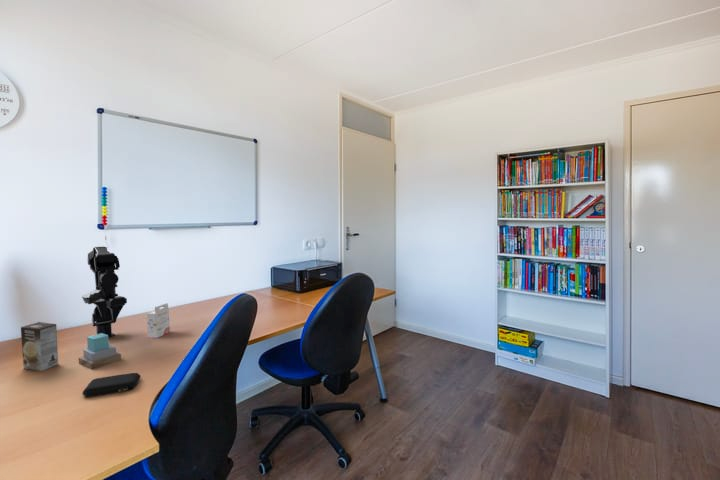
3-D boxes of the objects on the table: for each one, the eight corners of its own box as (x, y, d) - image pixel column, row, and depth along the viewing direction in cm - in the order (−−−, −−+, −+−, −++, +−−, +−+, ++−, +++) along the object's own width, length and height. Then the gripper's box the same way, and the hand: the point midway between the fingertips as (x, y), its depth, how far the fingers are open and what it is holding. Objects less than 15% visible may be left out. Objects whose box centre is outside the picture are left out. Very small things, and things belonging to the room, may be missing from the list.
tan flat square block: (79, 365, 132) (78, 357, 132) (107, 356, 141) (107, 349, 141) (92, 371, 127) (91, 363, 127) (121, 361, 136) (120, 353, 136)
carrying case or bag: (79, 402, 106) (135, 392, 111) (78, 392, 106) (134, 383, 111) (91, 386, 116) (141, 378, 121) (90, 377, 115) (141, 370, 121)
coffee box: (22, 368, 127) (19, 327, 126) (41, 361, 134) (38, 321, 132) (41, 371, 125) (38, 328, 124) (59, 363, 132) (57, 323, 131)
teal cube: (87, 349, 132) (87, 337, 132) (102, 345, 137) (101, 333, 136) (94, 352, 130) (93, 339, 130) (109, 347, 134) (108, 335, 134)
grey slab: (83, 356, 133) (83, 349, 133) (107, 350, 139) (107, 342, 139) (92, 361, 128) (91, 354, 128) (116, 354, 135) (116, 347, 135)
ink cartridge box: (161, 331, 169) (160, 302, 168) (170, 332, 168) (169, 302, 167) (147, 337, 160) (146, 306, 159) (156, 338, 159) (155, 307, 158)
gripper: (73, 284, 143) (75, 320, 144) (96, 288, 134) (98, 327, 135) (103, 279, 152) (105, 313, 154) (126, 283, 143) (128, 320, 145)
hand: (108, 318), depth 146 cm, fingers open, 9 cm apart
